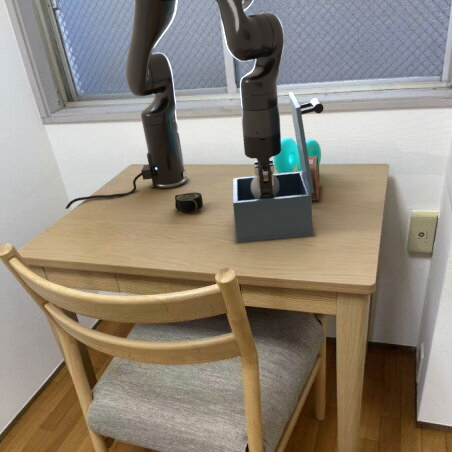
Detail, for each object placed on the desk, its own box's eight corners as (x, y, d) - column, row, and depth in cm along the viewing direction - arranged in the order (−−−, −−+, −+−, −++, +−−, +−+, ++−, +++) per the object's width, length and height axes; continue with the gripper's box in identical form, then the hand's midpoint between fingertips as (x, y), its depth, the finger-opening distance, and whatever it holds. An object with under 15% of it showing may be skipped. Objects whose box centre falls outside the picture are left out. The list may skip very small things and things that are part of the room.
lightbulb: (283, 215, 107) (281, 168, 101) (277, 227, 102) (274, 178, 96) (257, 214, 109) (254, 167, 103) (250, 226, 104) (246, 177, 98)
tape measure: (203, 203, 121) (201, 189, 119) (204, 213, 115) (202, 199, 113) (176, 207, 121) (174, 192, 119) (176, 217, 115) (173, 203, 113)
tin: (317, 205, 112) (317, 171, 107) (304, 206, 113) (303, 171, 108) (320, 182, 124) (320, 150, 119) (307, 183, 125) (307, 151, 120)
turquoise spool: (290, 168, 136) (289, 132, 130) (322, 171, 131) (322, 134, 125) (272, 180, 130) (270, 143, 124) (305, 184, 124) (305, 146, 119)
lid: (296, 108, 85) (325, 100, 85) (288, 92, 98) (314, 85, 97) (309, 193, 94) (337, 187, 94) (301, 169, 107) (325, 163, 106)
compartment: (237, 242, 101) (233, 203, 96) (237, 214, 113) (233, 178, 108) (312, 235, 99) (312, 195, 95) (303, 208, 112) (303, 171, 107)
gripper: (242, 123, 101) (248, 197, 110) (243, 142, 89) (250, 223, 98) (277, 119, 101) (281, 194, 110) (283, 137, 89) (286, 219, 98)
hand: (266, 207), depth 104 cm, fingers open, 7 cm apart
